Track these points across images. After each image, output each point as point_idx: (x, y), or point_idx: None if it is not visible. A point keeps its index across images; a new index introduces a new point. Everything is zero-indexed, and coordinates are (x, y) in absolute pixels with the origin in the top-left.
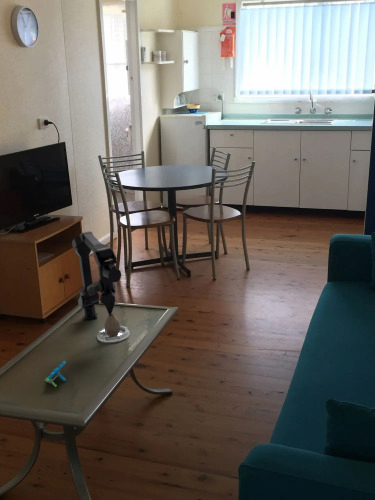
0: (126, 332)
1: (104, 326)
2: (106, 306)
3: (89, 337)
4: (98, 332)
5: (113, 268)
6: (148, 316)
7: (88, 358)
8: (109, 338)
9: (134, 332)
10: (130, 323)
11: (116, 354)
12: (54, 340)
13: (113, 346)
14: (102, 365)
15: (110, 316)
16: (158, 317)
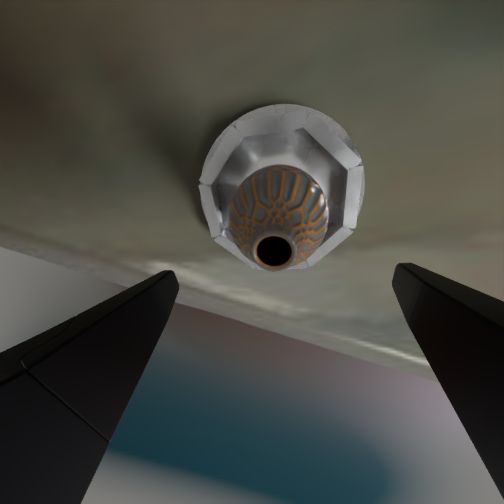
0: (252, 265)
1: (262, 170)
2: (27, 351)
3: (290, 37)
4: (279, 114)
5: None
6: None
7: (47, 103)
8: (202, 194)
9: (294, 278)
10: None
11: (113, 225)
12: None
13: (174, 208)
14: (24, 183)
15: (249, 248)
16: (407, 348)
